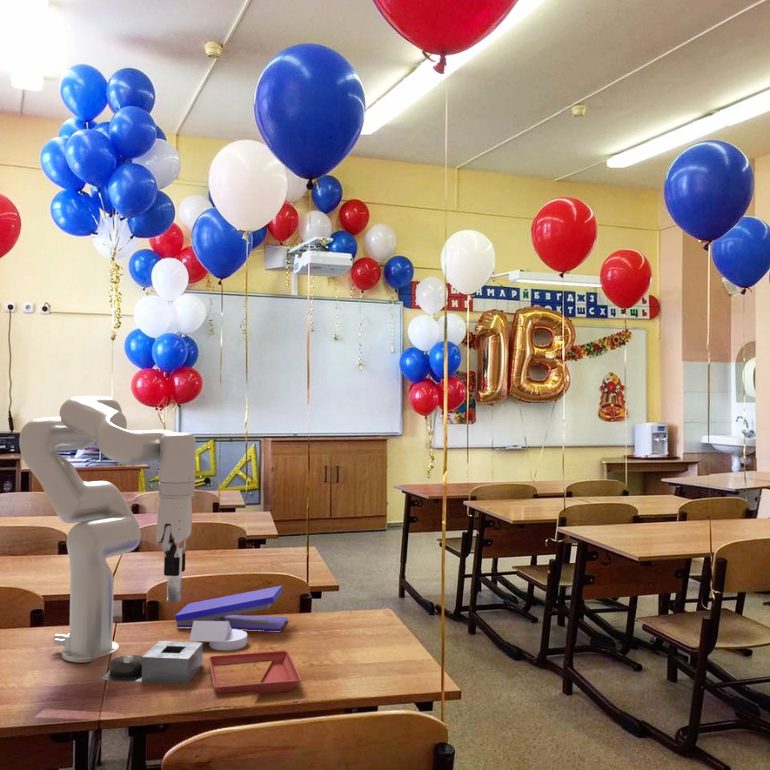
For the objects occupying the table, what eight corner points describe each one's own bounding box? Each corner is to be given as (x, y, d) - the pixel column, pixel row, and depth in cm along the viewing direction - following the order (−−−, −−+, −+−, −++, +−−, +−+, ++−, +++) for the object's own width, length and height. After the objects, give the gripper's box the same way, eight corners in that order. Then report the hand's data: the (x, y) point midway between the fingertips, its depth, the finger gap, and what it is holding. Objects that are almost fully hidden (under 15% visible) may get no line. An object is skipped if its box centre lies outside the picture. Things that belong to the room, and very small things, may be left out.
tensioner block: (99, 685, 156) (99, 655, 156) (120, 665, 167) (121, 638, 167) (187, 689, 155) (187, 659, 155) (202, 669, 166) (203, 641, 166)
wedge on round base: (188, 655, 175) (243, 655, 175) (189, 626, 175) (244, 627, 175) (197, 642, 184) (249, 642, 184) (197, 615, 184) (250, 615, 184)
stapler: (279, 634, 192) (280, 596, 192) (173, 630, 193) (174, 592, 193) (287, 620, 203) (288, 585, 203) (187, 616, 204) (188, 581, 205)
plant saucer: (287, 663, 172) (287, 649, 172) (301, 694, 155) (302, 678, 155) (207, 670, 167) (208, 655, 167) (213, 703, 149) (213, 687, 149)
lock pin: (164, 601, 160) (165, 540, 160) (169, 597, 163) (170, 537, 163) (178, 602, 159) (180, 541, 159) (183, 598, 163) (185, 538, 163)
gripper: (172, 483, 170) (170, 563, 170) (145, 494, 153) (143, 582, 153) (204, 484, 169) (202, 565, 169) (181, 495, 153) (178, 584, 153)
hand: (174, 572), depth 161 cm, fingers closed on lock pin, 3 cm apart
